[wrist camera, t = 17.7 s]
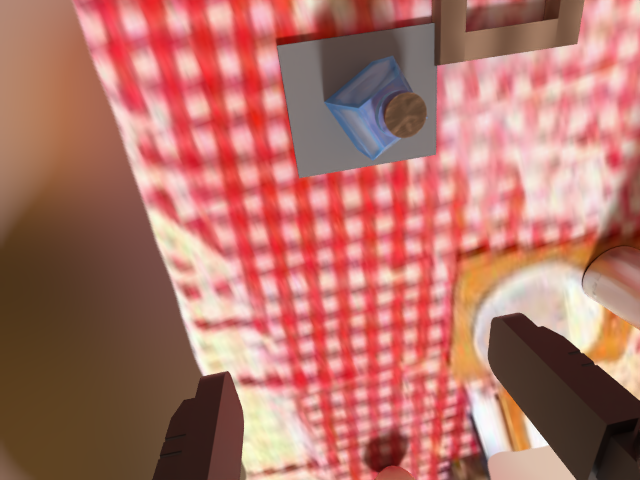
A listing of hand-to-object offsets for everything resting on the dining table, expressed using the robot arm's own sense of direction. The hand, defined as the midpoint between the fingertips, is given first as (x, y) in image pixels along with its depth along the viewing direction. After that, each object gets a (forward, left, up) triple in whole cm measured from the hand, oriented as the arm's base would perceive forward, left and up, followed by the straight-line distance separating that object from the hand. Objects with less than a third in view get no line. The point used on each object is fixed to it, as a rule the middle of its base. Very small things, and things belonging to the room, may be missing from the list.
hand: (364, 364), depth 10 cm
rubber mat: (-8, -5, -30) cm, 32 cm away
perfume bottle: (-8, -5, -30) cm, 31 cm away
